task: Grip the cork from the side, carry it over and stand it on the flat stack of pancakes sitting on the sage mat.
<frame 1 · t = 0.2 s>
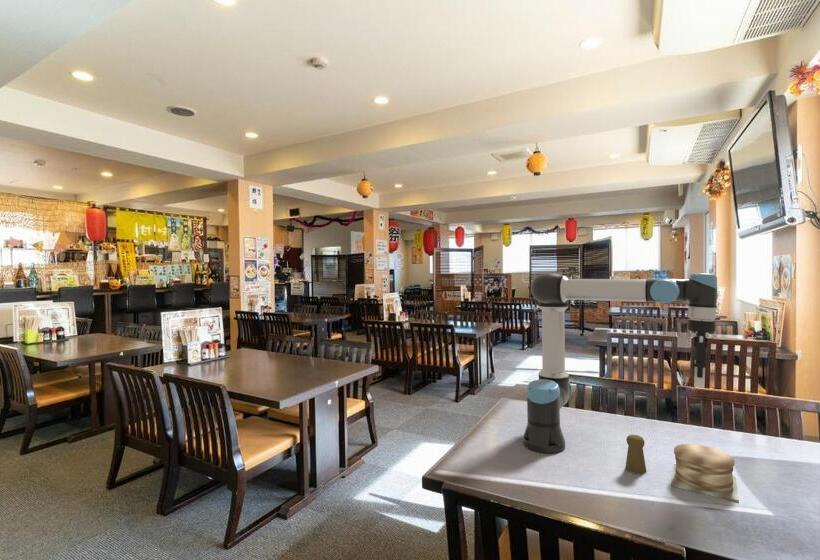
hand: (699, 383, 137), 27 cm above the table, tool pointing down, fingers open, 13 cm apart
stack of pancakes: (703, 482, 125), on the table
cork: (635, 470, 134), on the table
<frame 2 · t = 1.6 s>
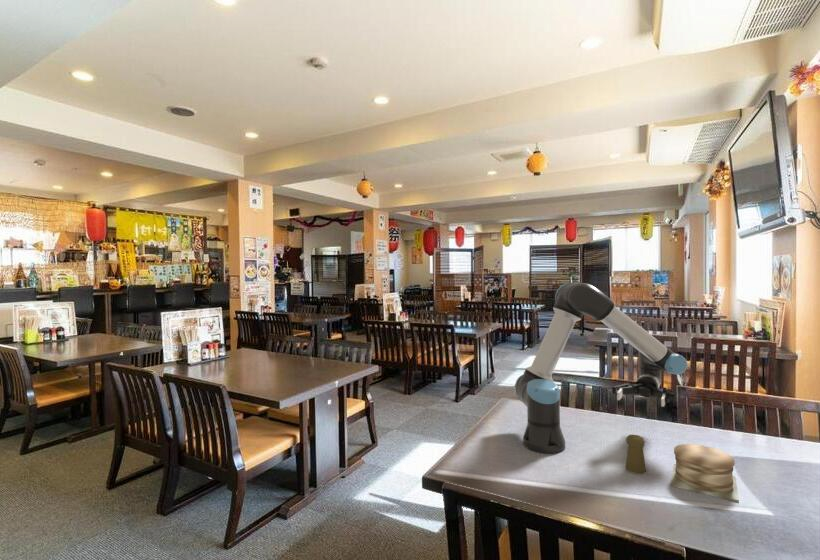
hand: (639, 399, 143), 20 cm above the table, tool horizontal, fingers open, 13 cm apart
nothing on the table moved.
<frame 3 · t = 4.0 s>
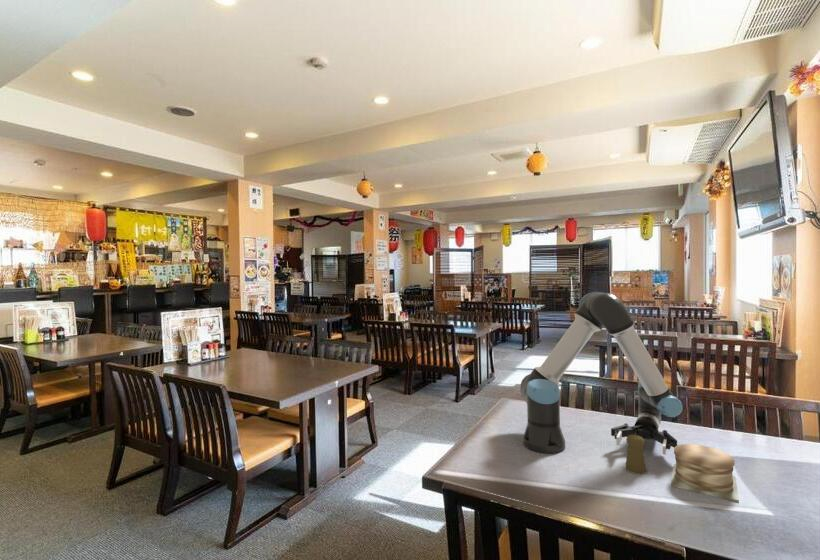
hand: (640, 445, 137), 6 cm above the table, tool horizontal, fingers open, 13 cm apart
nothing on the table moved.
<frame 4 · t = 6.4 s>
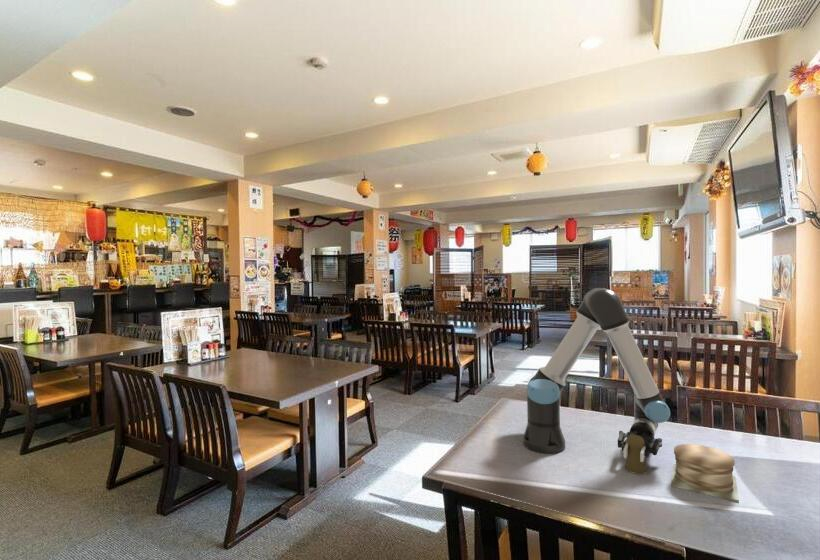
hand: (633, 455, 130), 7 cm above the table, tool horizontal, fingers closed on cork, 4 cm apart
cork: (635, 470, 134), on the table, touching gripper
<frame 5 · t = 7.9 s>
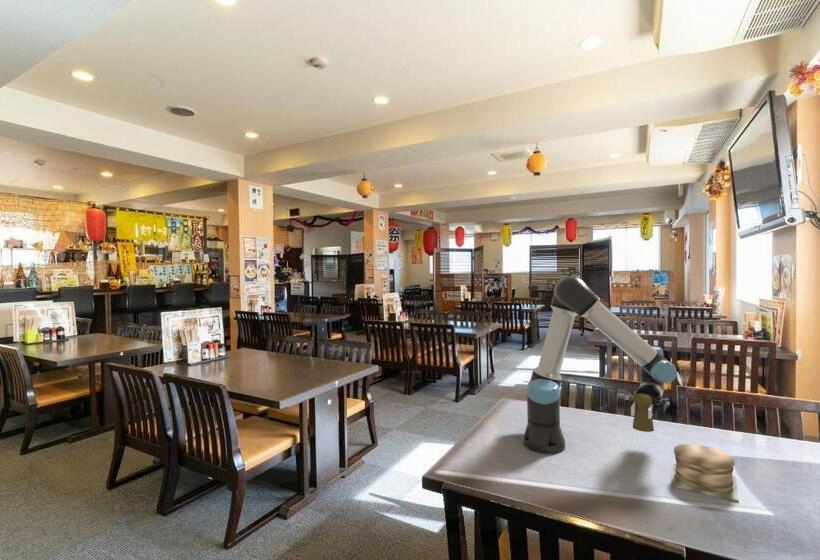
hand: (640, 412, 129), 20 cm above the table, tool horizontal, fingers closed on cork, 4 cm apart
cork: (643, 428, 133), point 14 cm above the table, touching gripper
when the fingers open (16 cm above the table, at t = 9.7 s): cork stays where it is, resting on stack of pancakes.
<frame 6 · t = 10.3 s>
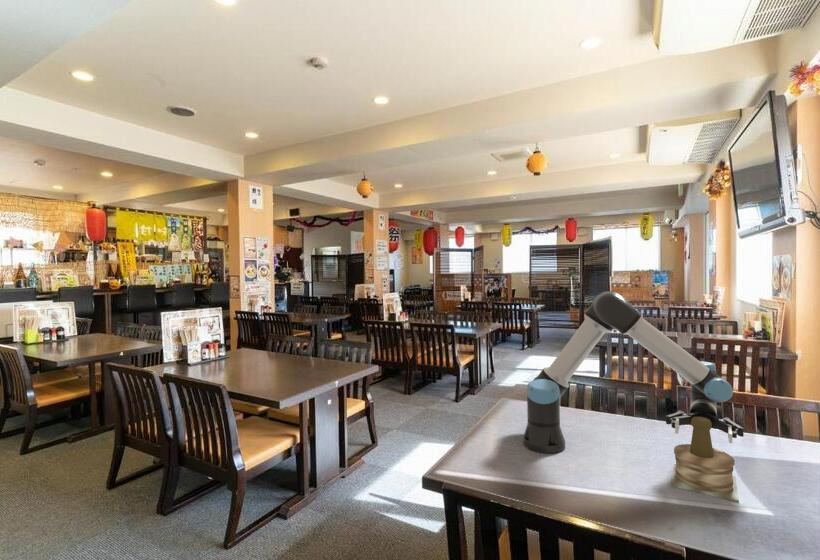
hand: (702, 433, 122), 16 cm above the table, tool horizontal, fingers open, 12 cm apart
cork: (701, 454, 125), point 8 cm above the table, touching stack of pancakes
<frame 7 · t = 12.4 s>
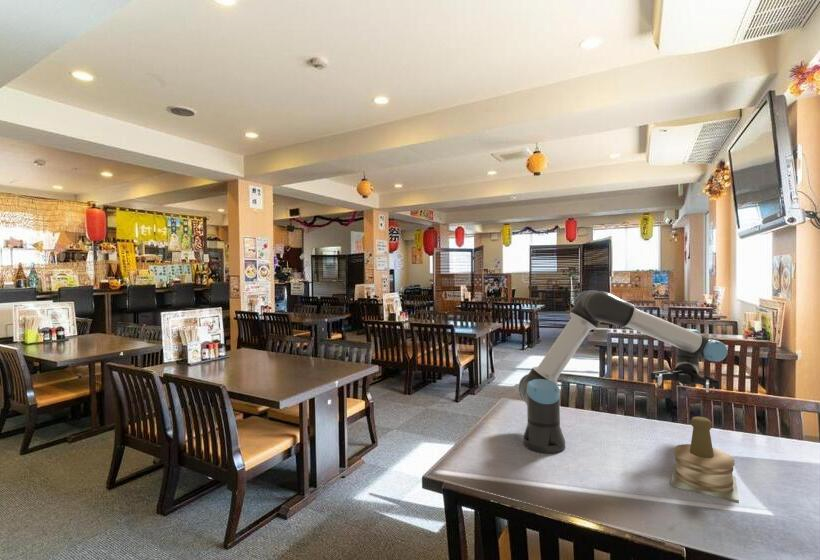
hand: (682, 384, 138), 26 cm above the table, tool horizontal, fingers open, 13 cm apart
nothing on the table moved.
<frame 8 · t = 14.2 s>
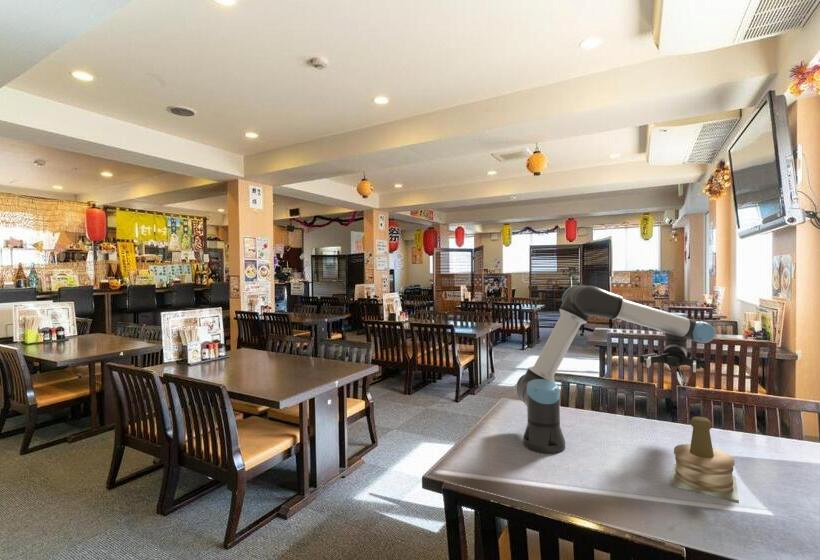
hand: (670, 366, 141), 32 cm above the table, tool horizontal, fingers open, 13 cm apart
nothing on the table moved.
at the end: cork inside the target area on the stack of pancakes (0.4 cm from its centre), point 8.4 cm above the stack of pancakes's base; cork tilted 0°; the gripper is holding nothing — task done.
